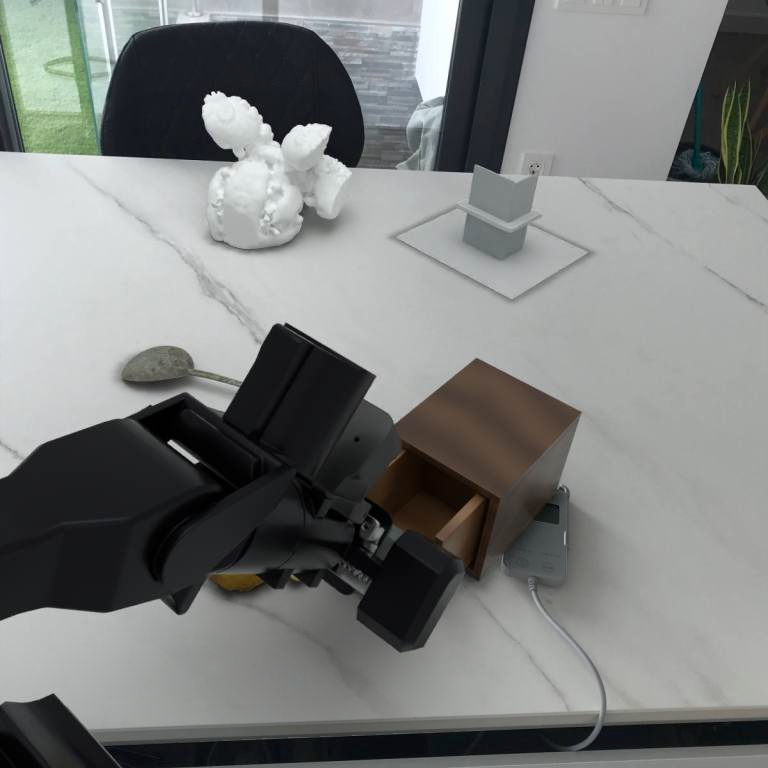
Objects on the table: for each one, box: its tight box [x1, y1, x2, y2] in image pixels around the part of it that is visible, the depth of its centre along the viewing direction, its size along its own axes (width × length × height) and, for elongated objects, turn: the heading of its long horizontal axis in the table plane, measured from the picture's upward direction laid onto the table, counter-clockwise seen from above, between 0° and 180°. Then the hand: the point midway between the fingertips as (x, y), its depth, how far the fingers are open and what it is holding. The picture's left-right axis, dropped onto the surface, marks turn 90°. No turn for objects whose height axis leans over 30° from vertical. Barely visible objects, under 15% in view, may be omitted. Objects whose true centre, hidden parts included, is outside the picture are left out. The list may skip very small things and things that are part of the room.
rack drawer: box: [354, 446, 490, 599], centre depth 63 cm, size 16×10×9 cm, turn 142°
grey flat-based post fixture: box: [394, 164, 590, 300], centre depth 107 cm, size 19×21×12 cm
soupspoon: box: [121, 345, 243, 388], centre depth 81 cm, size 22×3×7 cm
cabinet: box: [394, 357, 583, 582], centre depth 69 cm, size 14×11×11 cm
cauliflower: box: [201, 90, 353, 251], centre depth 107 cm, size 19×20×20 cm
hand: (372, 532), depth 57 cm, fingers closed
